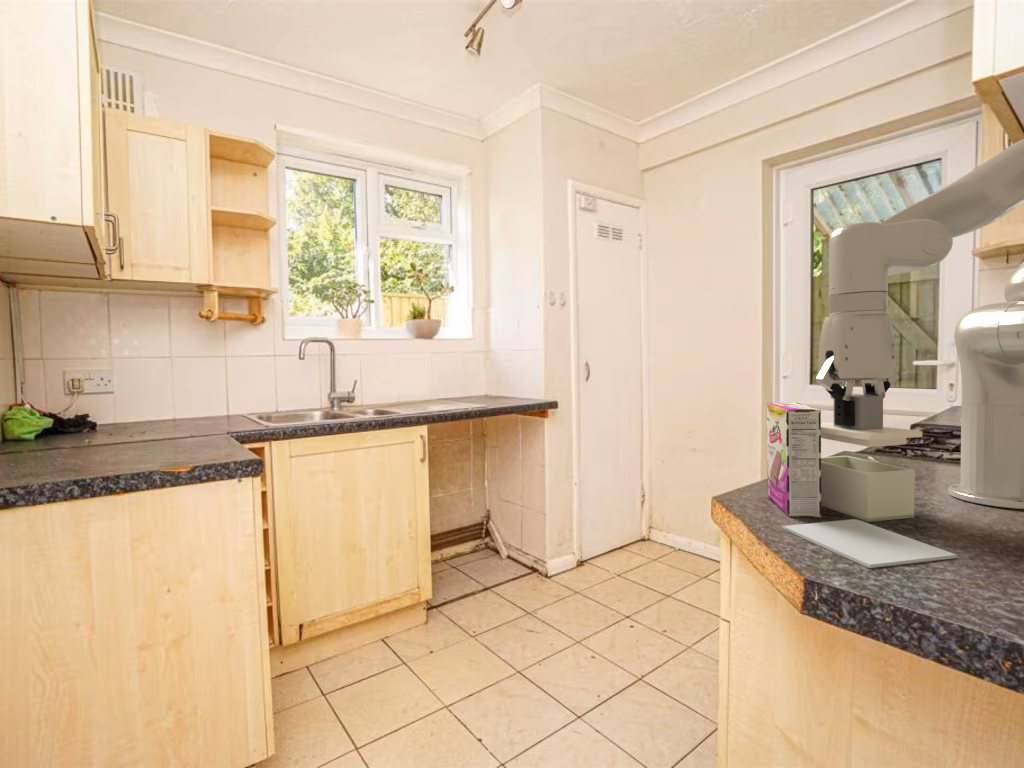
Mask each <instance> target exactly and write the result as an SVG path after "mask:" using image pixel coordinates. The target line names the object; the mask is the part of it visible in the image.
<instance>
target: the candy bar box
mask: <svg viewBox="0 0 1024 768" xmlns="http://www.w3.org/2000/svg"><path fill="white" fill-rule="evenodd" d="M765 406H766V448H767V449H766V452H767V453H766V456H767V458H766V461H767V463H766V464H767V468H766V471H767V472H766V473H767V498H768V499H769V500H771V501H772V503H773V504H775V505H776V506H777V507H778V508H779V509H780V511H782V512H783V513H784V514H785V515H786V516H787V517H789V518H811V519H812V518H822V506H821V457H822V438H821V423H822V421H821V419H822V418H821V414H822V410H821V409H819V408H816V407H812V406H808V405H805V404H803V403H799V402H794V401H793V402H790V401H789V402H788V401H787V402H784V401H783V402H782V401H781V402H773V401H772V402H767V403H766V404H765Z"/></svg>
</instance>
